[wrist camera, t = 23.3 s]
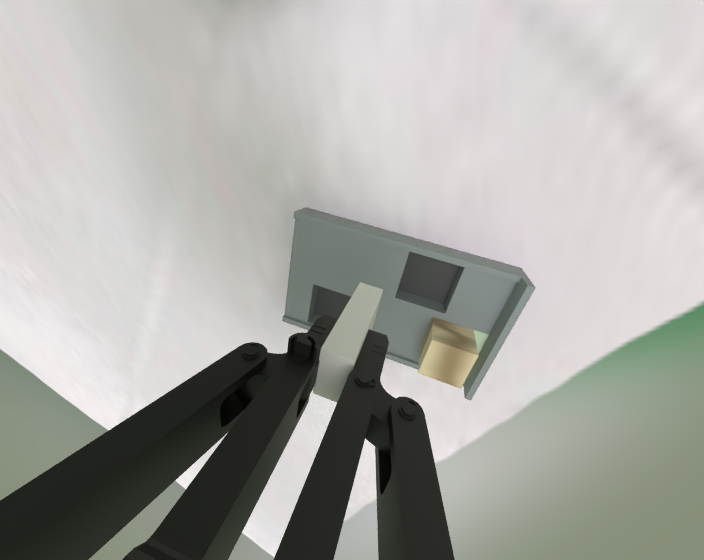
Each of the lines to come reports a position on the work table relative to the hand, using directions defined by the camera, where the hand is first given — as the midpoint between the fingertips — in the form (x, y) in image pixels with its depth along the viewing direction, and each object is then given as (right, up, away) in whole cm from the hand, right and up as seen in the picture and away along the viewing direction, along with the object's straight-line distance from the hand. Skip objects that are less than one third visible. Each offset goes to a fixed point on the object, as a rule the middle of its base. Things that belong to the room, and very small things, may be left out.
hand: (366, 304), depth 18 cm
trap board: (+5, 0, +24) cm, 25 cm away
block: (+12, -7, +22) cm, 26 cm away
